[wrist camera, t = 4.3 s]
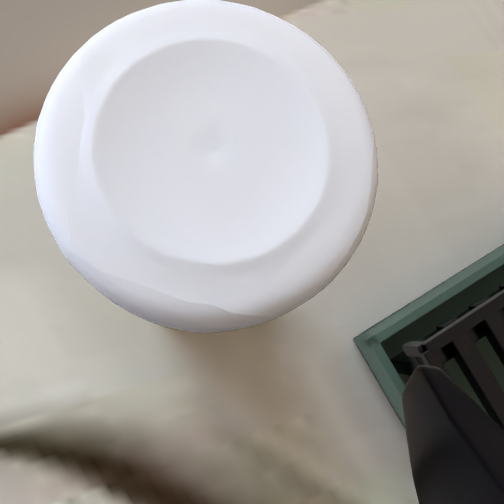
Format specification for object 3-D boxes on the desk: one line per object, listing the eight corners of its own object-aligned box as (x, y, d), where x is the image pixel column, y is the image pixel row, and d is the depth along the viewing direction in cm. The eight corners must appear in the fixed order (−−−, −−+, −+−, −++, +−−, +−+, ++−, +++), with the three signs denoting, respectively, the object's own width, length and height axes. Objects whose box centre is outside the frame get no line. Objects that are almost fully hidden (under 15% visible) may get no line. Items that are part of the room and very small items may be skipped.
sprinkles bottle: (275, 267, 20) (454, 135, 6) (203, 355, 19) (241, 414, 5) (189, 196, 20) (192, -81, 6) (114, 281, 19) (-66, 160, 5)
